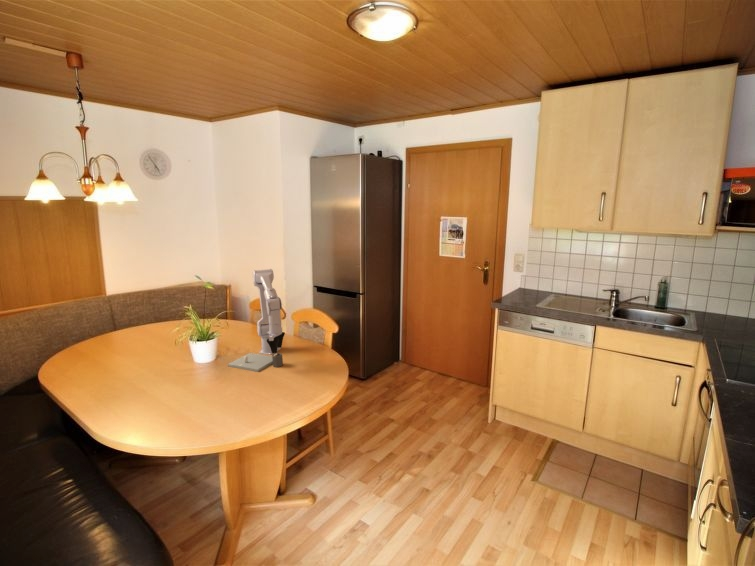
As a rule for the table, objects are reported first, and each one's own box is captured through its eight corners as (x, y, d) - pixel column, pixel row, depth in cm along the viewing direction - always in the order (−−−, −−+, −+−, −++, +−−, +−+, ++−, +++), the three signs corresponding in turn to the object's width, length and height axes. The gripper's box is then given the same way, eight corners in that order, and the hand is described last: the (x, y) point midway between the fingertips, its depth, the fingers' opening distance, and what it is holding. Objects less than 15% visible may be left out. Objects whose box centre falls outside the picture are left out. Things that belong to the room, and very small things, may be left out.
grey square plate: (249, 354, 218) (249, 347, 218) (278, 359, 211) (278, 351, 211) (228, 366, 204) (227, 358, 203) (257, 371, 197) (257, 363, 196)
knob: (276, 362, 208) (276, 351, 206) (284, 364, 206) (283, 352, 204) (271, 366, 203) (270, 354, 202) (278, 367, 202) (278, 355, 200)
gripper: (271, 318, 208) (273, 344, 210) (261, 327, 193) (263, 355, 196) (285, 318, 207) (287, 345, 210) (276, 327, 193) (278, 355, 196)
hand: (276, 350), depth 203 cm, fingers open, 7 cm apart
